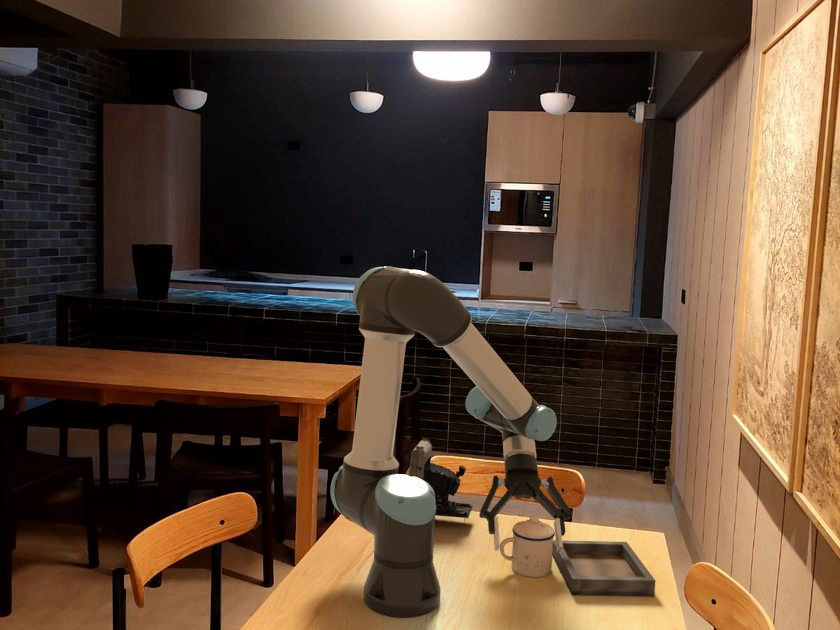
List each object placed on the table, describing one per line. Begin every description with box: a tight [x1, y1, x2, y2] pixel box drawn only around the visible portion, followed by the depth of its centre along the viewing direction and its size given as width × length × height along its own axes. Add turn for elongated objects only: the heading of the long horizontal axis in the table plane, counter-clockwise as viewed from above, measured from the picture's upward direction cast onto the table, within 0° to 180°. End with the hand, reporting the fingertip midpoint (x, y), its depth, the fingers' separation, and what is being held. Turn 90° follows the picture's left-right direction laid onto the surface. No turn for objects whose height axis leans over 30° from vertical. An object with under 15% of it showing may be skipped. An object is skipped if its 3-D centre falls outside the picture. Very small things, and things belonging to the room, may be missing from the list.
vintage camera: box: [408, 438, 474, 521], centre depth 188 cm, size 10×15×20 cm, turn 78°
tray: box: [552, 539, 656, 598], centre depth 163 cm, size 17×19×4 cm
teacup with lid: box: [499, 515, 555, 578], centre depth 164 cm, size 12×9×12 cm
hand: (528, 549), depth 162 cm, fingers open, 13 cm apart
